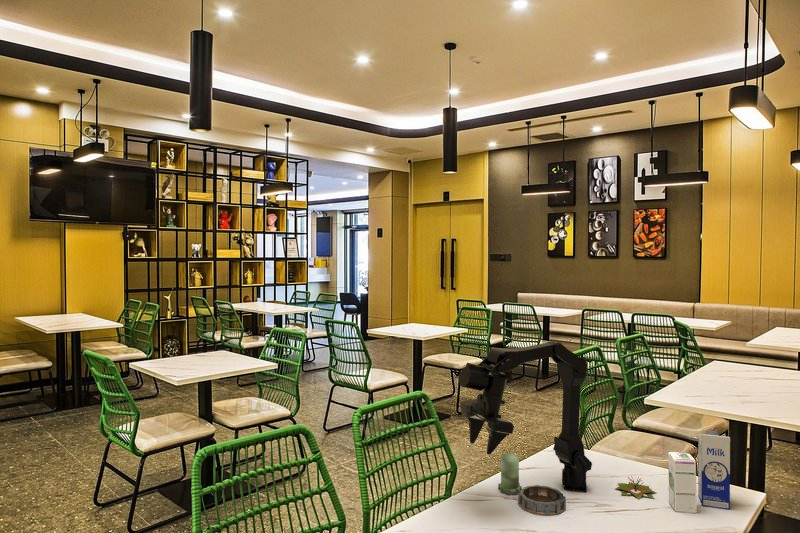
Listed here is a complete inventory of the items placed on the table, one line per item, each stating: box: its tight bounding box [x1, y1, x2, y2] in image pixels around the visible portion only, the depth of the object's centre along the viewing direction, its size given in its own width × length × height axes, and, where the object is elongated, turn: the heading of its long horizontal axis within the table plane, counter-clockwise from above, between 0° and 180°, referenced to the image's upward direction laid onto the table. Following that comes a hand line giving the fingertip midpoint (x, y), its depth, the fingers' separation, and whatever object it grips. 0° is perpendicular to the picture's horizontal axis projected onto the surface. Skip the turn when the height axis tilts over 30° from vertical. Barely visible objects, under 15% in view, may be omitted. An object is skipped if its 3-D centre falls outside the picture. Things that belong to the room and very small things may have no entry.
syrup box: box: [667, 451, 698, 514], centre depth 148 cm, size 6×6×14 cm
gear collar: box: [517, 484, 567, 517], centre depth 151 cm, size 13×13×3 cm
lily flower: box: [614, 475, 657, 500], centre depth 159 cm, size 12×12×5 cm
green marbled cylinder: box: [497, 453, 523, 496], centre depth 160 cm, size 7×7×10 cm
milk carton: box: [697, 430, 731, 510], centre depth 151 cm, size 7×7×20 cm
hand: (479, 448), depth 150 cm, fingers open, 9 cm apart
